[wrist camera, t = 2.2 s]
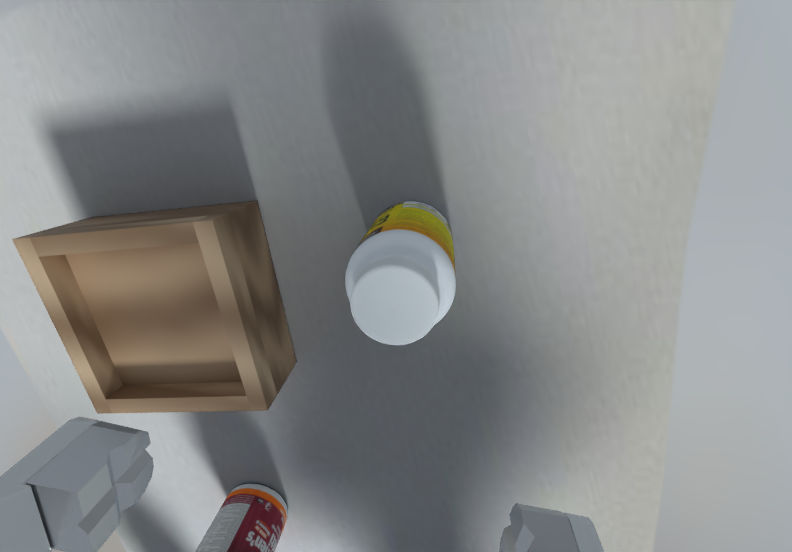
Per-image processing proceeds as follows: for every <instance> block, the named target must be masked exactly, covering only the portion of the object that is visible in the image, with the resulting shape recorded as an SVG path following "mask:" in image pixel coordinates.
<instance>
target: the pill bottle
mask: <svg viewBox="0 0 792 552" xmlns="http://www.w3.org/2000/svg"><path fill="white" fill-rule="evenodd" d="M287 516H288V509H287V505H286V503H285V501H284V500H283V498H282V497H281V496H280V495H279V494H278V493H277V492H276V491H274V490H272V489H270V488H268V487H266V486H263V485H259V484H244V485H240V486H238V487H236V488H234V489H233V490H232V491H231V492H230V493H229V495H228V496H227V498H226V500H225V501H224V503H223V505H222V507H221V508H220V510H219V512H218V513H217V515H216V517H215V519H214V520H213V522H212V524H211V526H210V527H209V529H208V531H207V533H206V534H205V536H204V538H203V539H202V541H201V543H200V545H199V546H198V548H197V550H196V552H274V551H275V549H276V546H277V544H278V541H279V539H280V536H281V533H282V531H283V528H284V526H285V523H286V520H287Z"/></svg>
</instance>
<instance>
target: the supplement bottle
mask: <svg viewBox="0 0 792 552" xmlns="http://www.w3.org/2000/svg"><path fill="white" fill-rule="evenodd" d="M345 287H346V292H347V296H348V299H349V301H350V307H351V313H352V316H353V318H354V321H355V322H356V324H357V325H358V327H359V328H360V329H361V330H362V331H363V332H364V333H365V334H366V335H367V336H369V337H370V338H372V339H374V340H376V341H378V342H381V343H384V344H389V345H405V344H409V343H412V342H415V341H417V340H419V339H421V338H422V337H424V336H425V335H426V334H427V333H428V332H429V331H430V330H431V329H432V327H433V326H434V325H435V324H436V323H438V322H439V321H440V320H441V319H442V318H443V317H444V316H445V315H446V313H447V312H448V310H449V309H450V307H451V305H452V302H453V299H454V296H455V291H456V275H455V262H454V250H453V238H452V233H451V229H450V226H449V224H448V222H447V221H446V219H445V218H444V217H443V215H442V214H441V213H440V212H438V211H437V210H436V209H434V208H433V207H431V206H429V205H427V204H424V203H421V202H415V201H406V202H400V203H397V204H394V205H392V206H390V207H389V208H387V209H386V210H384V211H383V212H382V213H381V214H380V215H379V216H378V218H377V219H376V220H375V222H374V223H373V225H372V226H371V228H370V229H369V231H368V232H367V234H366V235H365V237H364V238H363V239H362V241H361V242H360V244H359V245H358V247H357V248H356V250H355V251H354V253H353V255H352V256H351V258H350V261H349V263H348V266H347V269H346V275H345Z"/></svg>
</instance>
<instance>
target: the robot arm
mask: <svg viewBox="0 0 792 552" xmlns="http://www.w3.org/2000/svg"><path fill="white" fill-rule="evenodd" d="M149 444H150V438H149V433H148V432H146V431H142V430H138V429H133V428H129V427H125V426H120V425H116V424H111V423H107V422H103V421H98V420H93V419H88V418H83V417H77V418H75V419H72V420H69V421H68V422H67V423H66V424H64V425H63V426H62V427H61V428H59V429H58V430H57V431H56V432H55V433H53V434H52V435H51V436H50V437H48V438H47V439H46V440H45V441H43V442H42V443H41V444H40V445H39V446H38V447H36V448H35V449H34V450H32V451H31V452H30V453H29V454H28V455H26V456H25V457H24V458H23V459H21V460H20V461H19V462H18V463H16V464H15V465H14V466H13V467H11V468H10V469H9V470H8V471H7V472H5V473H4V474H3V475H2V476H1V477H0V552H51V551H52V550H51V549H55V550H60V551H66V552H97V551H98V550H99V549H100V548H101V547H102V545H103V544H104V543H105V541H106V540H107V539H108V538H109V536H110V535H111V534H112V533H113V531H114V530H115V529H116V528H117V526H118V525H119V523H120V512H122V511H124V510H125V509H127V508H129V507H131V506H132V505H134V504H136V502H137V501H138V500H139V498H140V497H141V496H142V494H143V493H144V492H145V490H146V488H147V486H148V484H149V482H150V479H151V477H152V472H153V467H154V466H153V458H152V457H151V456H150V454H149V453H148V452H147V451H146V450H145V449H146V448H147V447H148V445H149ZM510 520H511V525H510V526H508V527H506V528H504V531H503V534H502V537H501V541H500V550H499V552H604V550H603V547H602V545H601V542H600V540H599V537H598V534H597V532H596V529H595V527H594V524H593V522H592V521H591V520H590V519H589V518H588V517H583V516H578V515H573V514H568V513H562V512H561V511H555V510H550V509H544V508H539V507H533V506H528V505H522V504H517V503H516V504H515V505H514V506H513V507H512V510H511V512H510Z"/></svg>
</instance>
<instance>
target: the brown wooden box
mask: <svg viewBox="0 0 792 552" xmlns="http://www.w3.org/2000/svg"><path fill="white" fill-rule="evenodd" d="M12 240H13V242H14V244H15V246H16V248H17V250H18V252H19V254H20V256H21V258H22V260H23V262H24V264H25V266H26V268H27V271H28V273H29V275H30V277H31V279H32V281H33V283H34V285H35V287H36V289H37V291H38V293H39V295H40V297H41V299H42V301H43V303H44V305H45V307H46V309H47V311H48V313H49V316H50V318H51V320H52V322H53V324H54V326H55V328H56V330H57V332H58V334H59V336H60V338H61V340H62V342H63V344H64V346H65V348H66V350H67V352H68V354H69V356H70V358H71V361H72V363H73V365H74V367H75V369H76V371H77V373H78V375H79V377H80V379H81V381H82V383H83V385H84V387H85V389H86V391H87V393H88V395H89V397H90V399H91V401H92V404H93V406H94V408H95V410H96V412H97V413H147V412H202V411H256V410H268V409H269V407H270V406H271V404H272V402H273V401H274V399H275V397H276V396H277V394H278V392H279V391H280V389H281V387H282V386H283V384H284V382H285V381H286V379H287V377H288V376H289V374H290V372H291V371H292V369H293V367H294V366H295V364H296V362H297V361H296V357H295V353H294V349H293V345H292V341H291V337H290V333H289V329H288V325H287V321H286V316H285V312H284V308H283V304H282V300H281V296H280V292H279V288H278V284H277V280H276V276H275V271H274V267H273V263H272V259H271V255H270V251H269V247H268V243H267V239H266V235H265V231H264V226H263V222H262V218H261V214H260V210H259V206H258V202H257V201H248V202H239V203H229V204H219V205H209V206H199V207H189V208H180V209H170V210H160V211H150V212H140V213H130V214H120V215H111V216H101V217H91V218H87V219H83V220H80V221H76V222H73V223H69V224H65V225H62V226H58V227H55V228H51V229H48V230H44V231H40V232H37V233H33V234H30V235H26V236H22V237H19V238H15V239H12Z"/></svg>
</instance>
